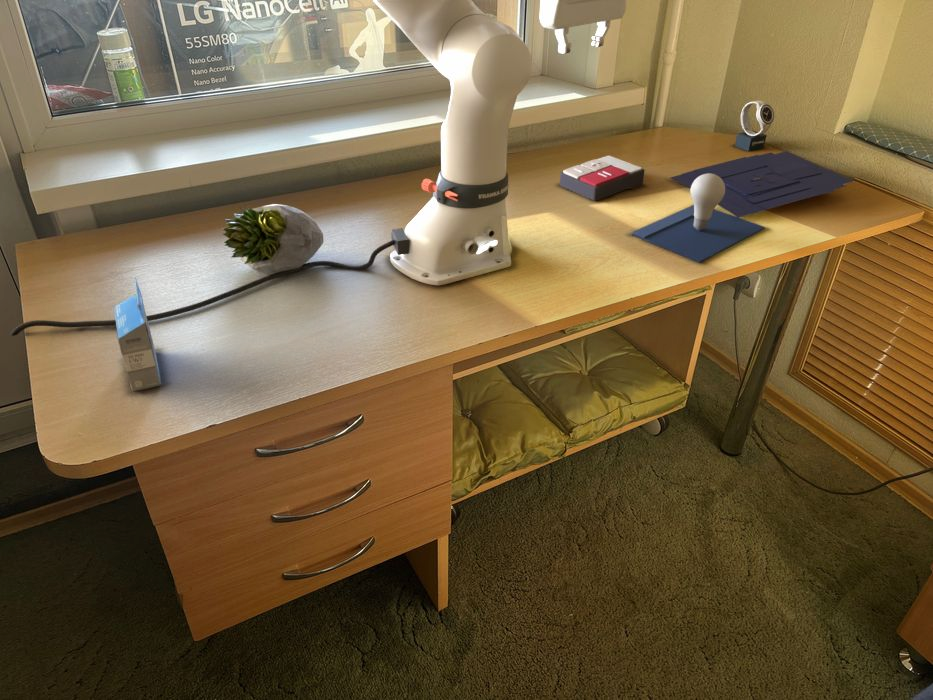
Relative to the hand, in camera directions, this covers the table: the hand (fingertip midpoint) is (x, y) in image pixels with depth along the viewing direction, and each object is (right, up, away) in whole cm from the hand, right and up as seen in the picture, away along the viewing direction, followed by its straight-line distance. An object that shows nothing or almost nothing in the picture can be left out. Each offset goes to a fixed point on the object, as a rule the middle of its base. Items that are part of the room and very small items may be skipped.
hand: (580, 49), depth 133 cm
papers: (+42, -22, +20) cm, 51 cm away
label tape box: (-65, -60, -36) cm, 96 cm away
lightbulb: (+23, -34, +2) cm, 41 cm away
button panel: (+8, -21, +21) cm, 31 cm away
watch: (+49, -6, +44) cm, 66 cm away
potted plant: (-54, -43, -12) cm, 70 cm away
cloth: (+23, -34, +2) cm, 41 cm away
